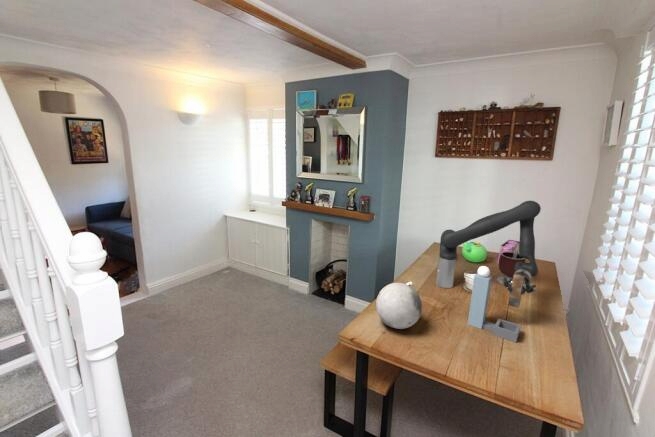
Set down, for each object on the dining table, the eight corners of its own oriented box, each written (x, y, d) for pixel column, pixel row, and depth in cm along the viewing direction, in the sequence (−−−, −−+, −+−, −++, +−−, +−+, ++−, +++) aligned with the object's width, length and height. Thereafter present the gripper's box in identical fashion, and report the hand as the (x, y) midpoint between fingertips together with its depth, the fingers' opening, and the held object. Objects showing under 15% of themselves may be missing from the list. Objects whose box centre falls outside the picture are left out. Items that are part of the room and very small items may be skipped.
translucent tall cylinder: (508, 305, 146) (513, 276, 142) (509, 301, 149) (514, 274, 145) (518, 308, 143) (523, 279, 140) (519, 304, 146) (524, 276, 143)
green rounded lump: (489, 266, 220) (493, 246, 217) (465, 265, 220) (468, 245, 217) (478, 257, 237) (481, 238, 234) (455, 256, 238) (458, 237, 234)
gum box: (508, 267, 219) (511, 248, 215) (496, 264, 224) (499, 246, 221) (517, 259, 236) (520, 241, 233) (506, 256, 241) (508, 239, 238)
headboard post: (466, 325, 146) (474, 267, 140) (471, 317, 153) (479, 262, 146) (515, 342, 134) (527, 280, 128) (519, 333, 141) (530, 273, 134)
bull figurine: (414, 295, 174) (415, 281, 172) (401, 304, 164) (403, 289, 163) (407, 292, 177) (408, 279, 175) (394, 301, 167) (395, 286, 165)
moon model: (391, 342, 132) (394, 298, 127) (366, 318, 150) (369, 279, 145) (429, 332, 140) (433, 290, 135) (401, 310, 158) (404, 273, 153)
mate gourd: (516, 288, 186) (522, 256, 181) (492, 280, 196) (497, 250, 191) (526, 281, 196) (531, 251, 191) (502, 274, 206) (506, 245, 201)
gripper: (506, 268, 158) (499, 278, 145) (540, 275, 150) (536, 287, 137) (504, 281, 160) (497, 293, 147) (537, 290, 152) (533, 303, 138)
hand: (515, 290), depth 142 cm, fingers closed on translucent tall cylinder, 4 cm apart
